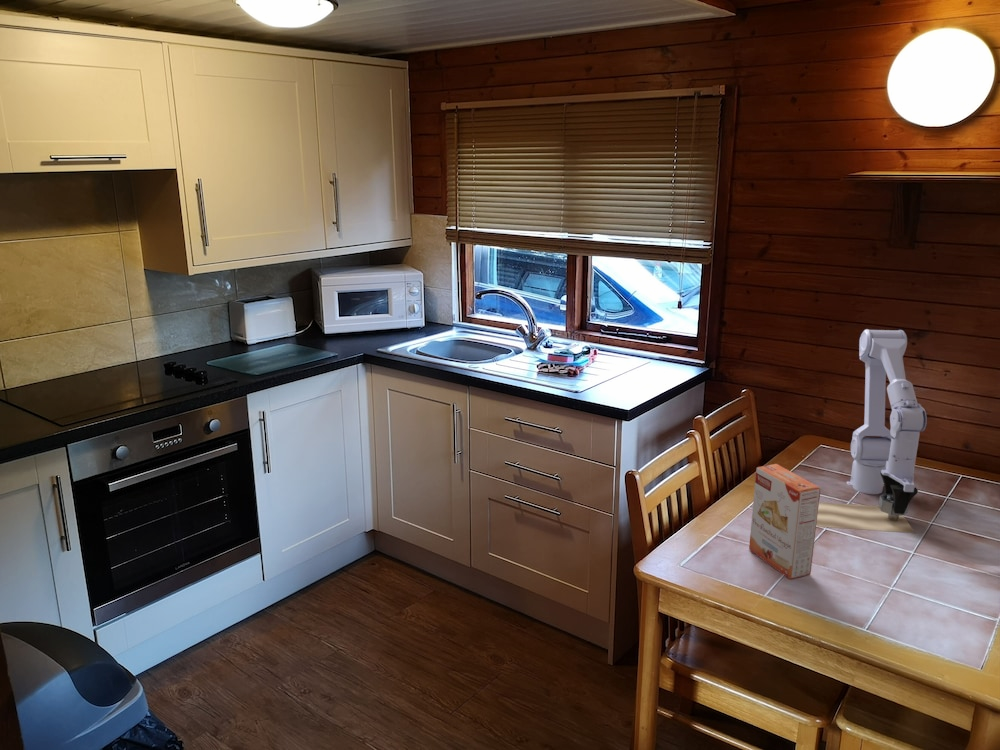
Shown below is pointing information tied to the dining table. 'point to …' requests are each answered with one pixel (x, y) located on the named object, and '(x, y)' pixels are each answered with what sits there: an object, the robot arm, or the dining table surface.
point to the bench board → (859, 518)
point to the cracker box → (784, 520)
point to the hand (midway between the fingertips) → (894, 507)
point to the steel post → (893, 516)
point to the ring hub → (888, 504)
